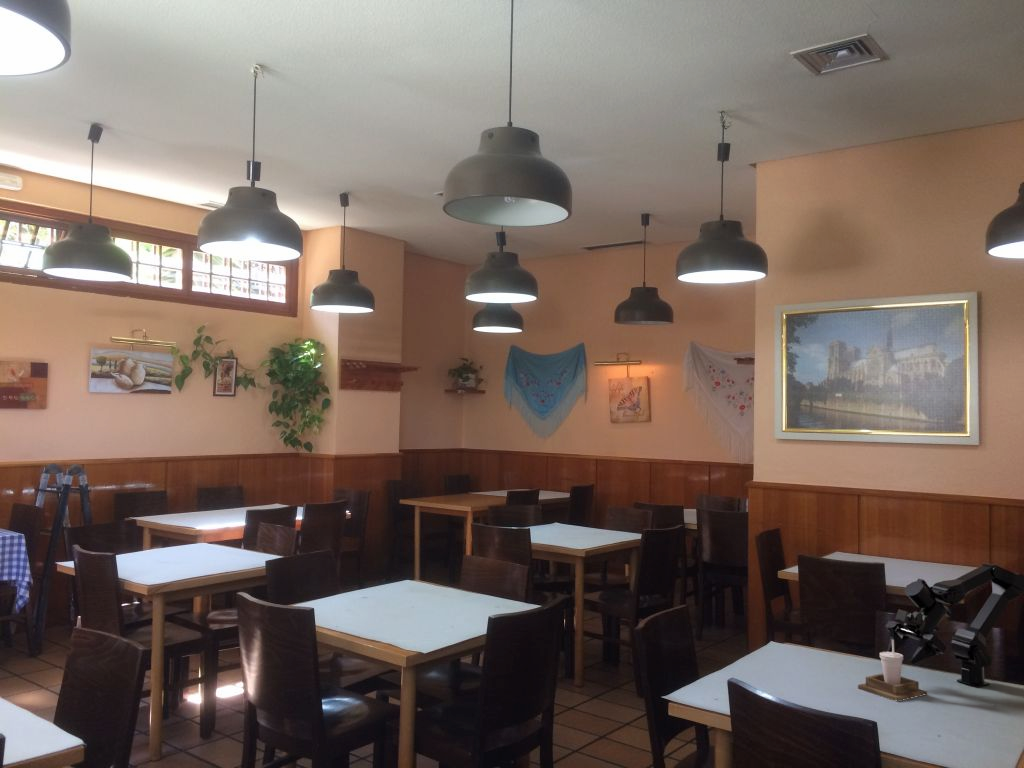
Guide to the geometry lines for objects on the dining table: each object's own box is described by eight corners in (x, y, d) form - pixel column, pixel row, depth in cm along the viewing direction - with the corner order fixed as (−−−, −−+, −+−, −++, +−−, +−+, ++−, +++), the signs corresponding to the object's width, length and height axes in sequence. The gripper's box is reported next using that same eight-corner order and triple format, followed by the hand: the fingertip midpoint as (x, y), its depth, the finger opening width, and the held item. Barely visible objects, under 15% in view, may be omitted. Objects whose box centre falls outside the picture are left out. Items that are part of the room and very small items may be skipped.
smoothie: (899, 693, 226) (898, 643, 227) (876, 688, 230) (875, 639, 231) (907, 688, 230) (906, 639, 231) (885, 683, 235) (883, 635, 236)
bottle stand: (887, 682, 239) (887, 670, 239) (926, 694, 227) (926, 682, 228) (858, 688, 233) (857, 676, 233) (897, 701, 221) (896, 688, 222)
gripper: (889, 594, 243) (860, 632, 239) (936, 606, 225) (906, 649, 221) (911, 618, 245) (883, 657, 241) (960, 632, 227) (930, 674, 223)
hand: (899, 658), depth 231 cm, fingers open, 9 cm apart
